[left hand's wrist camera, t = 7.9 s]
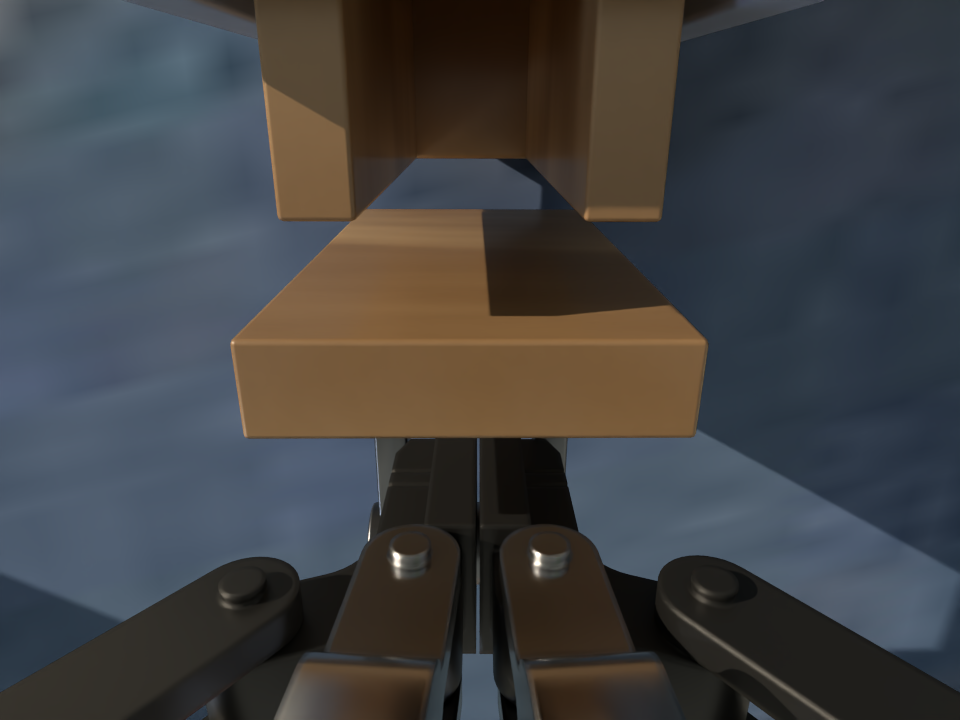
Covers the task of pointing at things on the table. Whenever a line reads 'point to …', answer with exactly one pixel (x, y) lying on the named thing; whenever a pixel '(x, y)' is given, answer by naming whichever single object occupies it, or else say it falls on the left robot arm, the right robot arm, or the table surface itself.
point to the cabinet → (707, 10)
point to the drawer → (469, 227)
